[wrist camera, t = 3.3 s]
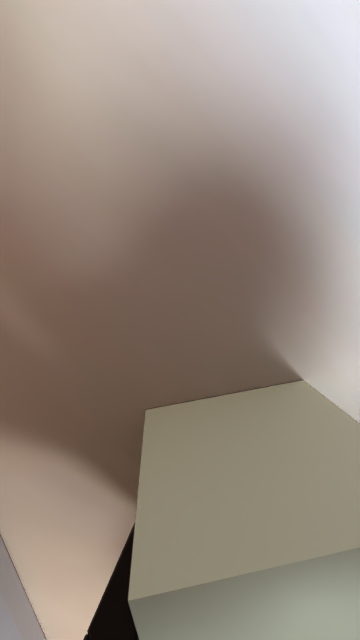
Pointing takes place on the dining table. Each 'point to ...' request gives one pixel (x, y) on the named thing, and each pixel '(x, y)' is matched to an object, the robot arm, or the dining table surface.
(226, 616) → the sage block
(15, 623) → the plate
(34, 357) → the dining table surface
